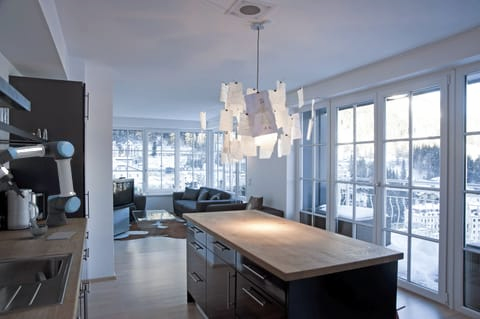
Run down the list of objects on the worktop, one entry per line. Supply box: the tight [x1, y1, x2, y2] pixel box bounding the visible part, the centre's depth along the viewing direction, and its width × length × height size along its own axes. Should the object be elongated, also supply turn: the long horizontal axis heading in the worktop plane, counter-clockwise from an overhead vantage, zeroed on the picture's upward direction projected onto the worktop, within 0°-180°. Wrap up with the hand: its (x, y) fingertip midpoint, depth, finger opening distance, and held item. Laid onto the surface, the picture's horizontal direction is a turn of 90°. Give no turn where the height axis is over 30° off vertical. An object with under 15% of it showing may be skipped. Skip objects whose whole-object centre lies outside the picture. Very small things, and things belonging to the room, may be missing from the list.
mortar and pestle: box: [28, 218, 48, 240], centre depth 216 cm, size 11×9×12 cm
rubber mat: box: [45, 231, 76, 241], centre depth 219 cm, size 20×13×1 cm, turn 15°
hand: (27, 201), depth 213 cm, fingers open, 13 cm apart
